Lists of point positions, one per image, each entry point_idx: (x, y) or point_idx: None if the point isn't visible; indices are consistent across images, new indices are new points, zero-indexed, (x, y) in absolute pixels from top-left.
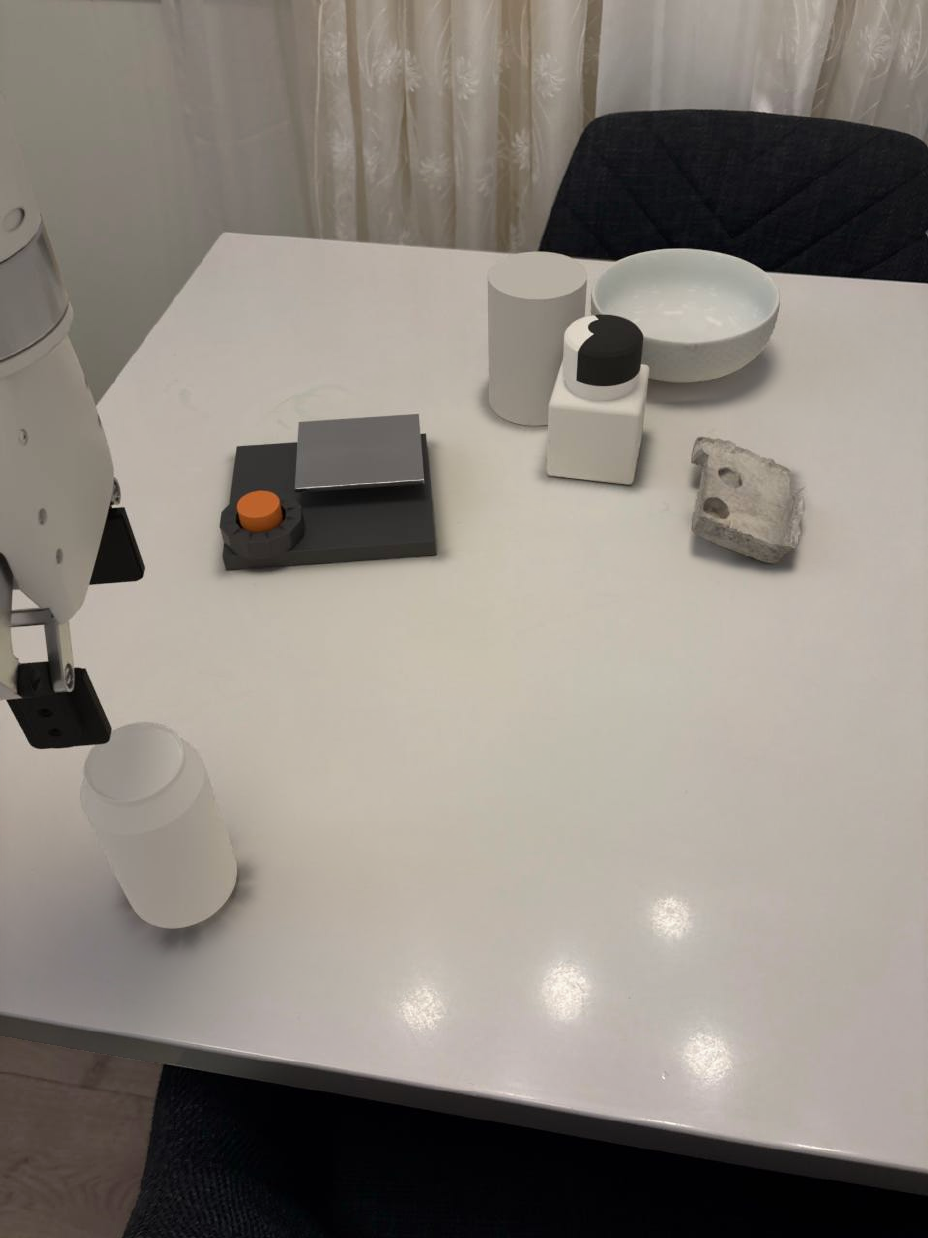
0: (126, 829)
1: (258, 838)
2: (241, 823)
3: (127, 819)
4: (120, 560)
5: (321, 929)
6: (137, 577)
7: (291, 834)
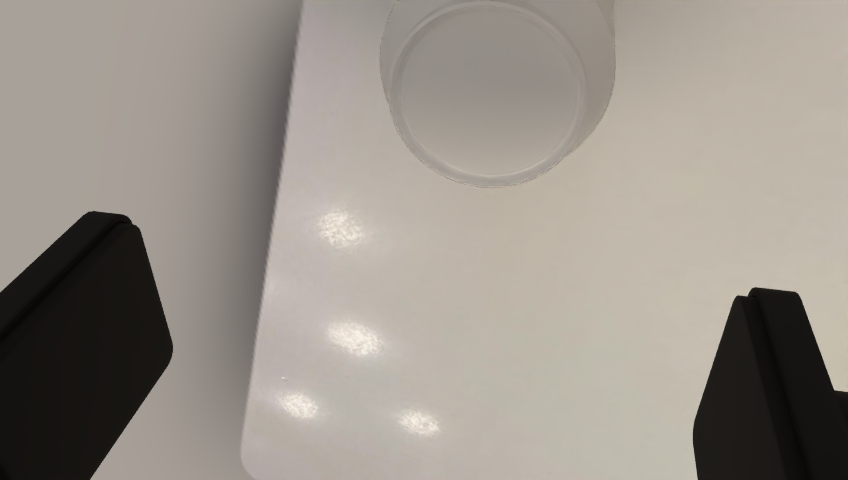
0: (382, 57)
1: None
2: (625, 48)
3: (386, 70)
4: (712, 475)
5: None
6: (695, 435)
7: None
